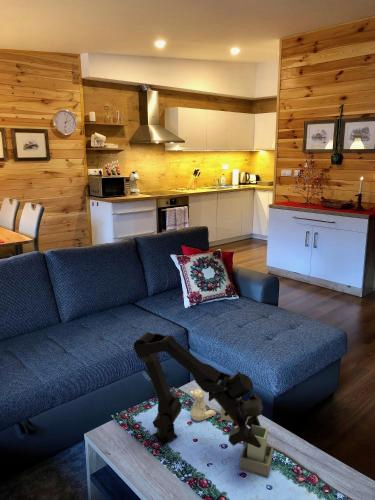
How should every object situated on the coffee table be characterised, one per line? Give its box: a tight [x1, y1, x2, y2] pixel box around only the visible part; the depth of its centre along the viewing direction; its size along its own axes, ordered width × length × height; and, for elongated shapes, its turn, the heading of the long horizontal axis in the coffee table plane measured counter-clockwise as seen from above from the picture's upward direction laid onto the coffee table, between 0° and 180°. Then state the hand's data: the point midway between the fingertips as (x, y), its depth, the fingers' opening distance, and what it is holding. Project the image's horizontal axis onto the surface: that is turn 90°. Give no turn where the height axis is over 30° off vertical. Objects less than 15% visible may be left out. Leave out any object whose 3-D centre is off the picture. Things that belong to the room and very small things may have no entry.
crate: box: [239, 442, 274, 479], centre depth 131 cm, size 9×9×4 cm
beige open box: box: [247, 424, 269, 463], centre depth 130 cm, size 5×5×10 cm
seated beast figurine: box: [190, 388, 217, 422], centre depth 153 cm, size 10×9×12 cm
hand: (261, 441), depth 129 cm, fingers closed on beige open box, 5 cm apart
